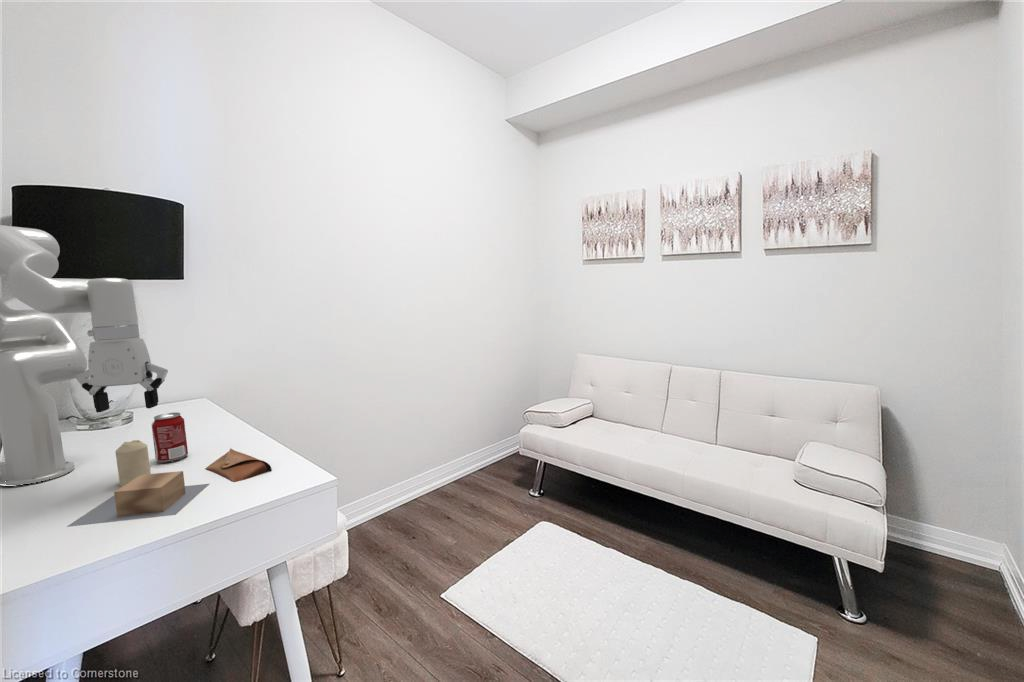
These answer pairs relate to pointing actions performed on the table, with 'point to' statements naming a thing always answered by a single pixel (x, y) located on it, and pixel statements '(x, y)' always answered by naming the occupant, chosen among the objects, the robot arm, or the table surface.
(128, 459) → the candle
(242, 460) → the sunglasses case
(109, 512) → the mat
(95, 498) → the table surface
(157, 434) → the soda can
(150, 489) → the block
